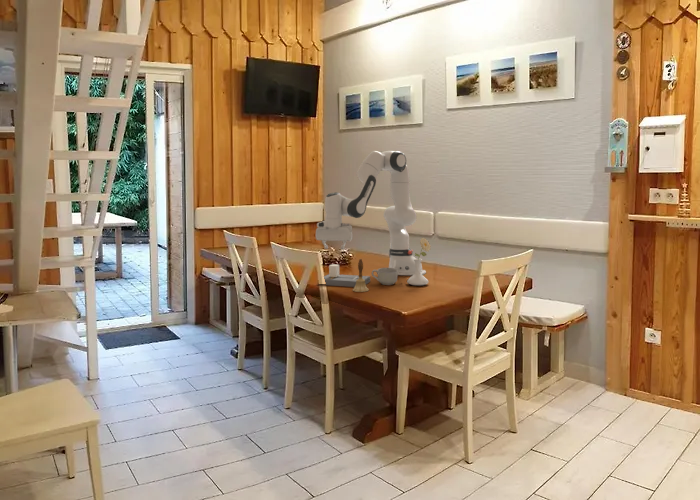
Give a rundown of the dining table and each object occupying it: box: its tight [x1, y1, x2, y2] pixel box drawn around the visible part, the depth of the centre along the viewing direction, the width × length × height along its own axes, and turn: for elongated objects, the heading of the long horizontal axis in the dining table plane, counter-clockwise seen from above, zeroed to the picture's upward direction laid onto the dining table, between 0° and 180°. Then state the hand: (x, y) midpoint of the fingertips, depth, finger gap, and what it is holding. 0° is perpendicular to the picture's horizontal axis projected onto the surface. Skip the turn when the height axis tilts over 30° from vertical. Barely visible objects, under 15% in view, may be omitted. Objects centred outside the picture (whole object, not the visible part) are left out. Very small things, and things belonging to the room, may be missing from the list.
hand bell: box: [352, 258, 370, 293], centre depth 311 cm, size 8×8×16 cm
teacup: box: [371, 267, 398, 286], centre depth 328 cm, size 14×11×8 cm
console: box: [323, 273, 371, 288], centre depth 330 cm, size 24×16×3 cm, turn 71°
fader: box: [328, 263, 340, 277], centre depth 331 cm, size 4×5×6 cm
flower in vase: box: [406, 237, 432, 287], centre depth 323 cm, size 13×11×25 cm
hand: (334, 248), depth 330 cm, fingers open, 8 cm apart
